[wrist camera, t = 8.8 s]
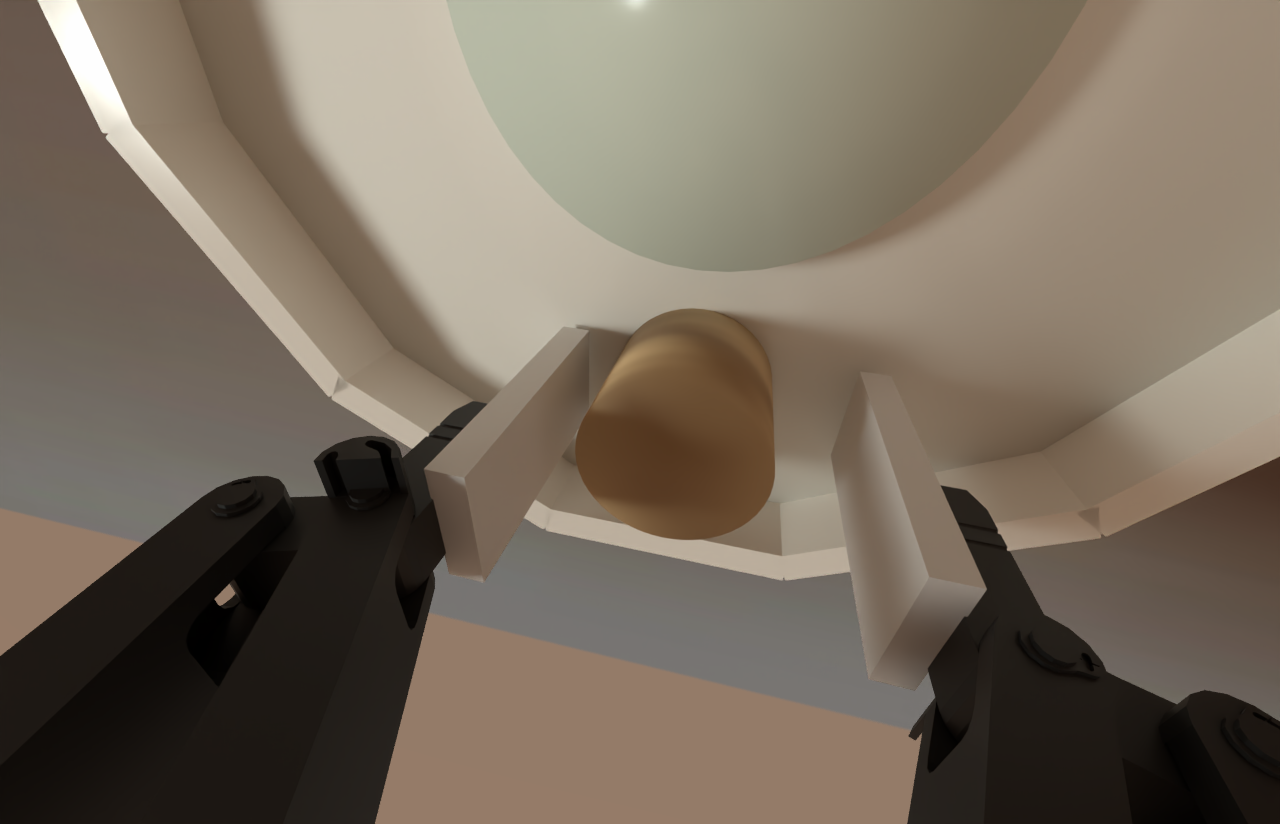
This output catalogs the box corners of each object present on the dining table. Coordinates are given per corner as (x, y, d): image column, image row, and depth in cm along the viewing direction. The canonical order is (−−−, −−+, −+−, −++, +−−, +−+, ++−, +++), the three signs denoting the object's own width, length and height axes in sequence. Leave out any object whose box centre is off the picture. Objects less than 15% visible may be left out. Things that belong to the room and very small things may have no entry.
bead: (616, 431, 15) (576, 520, 12) (621, 298, 13) (572, 364, 10) (756, 454, 15) (753, 556, 11) (788, 319, 12) (797, 398, 9)
